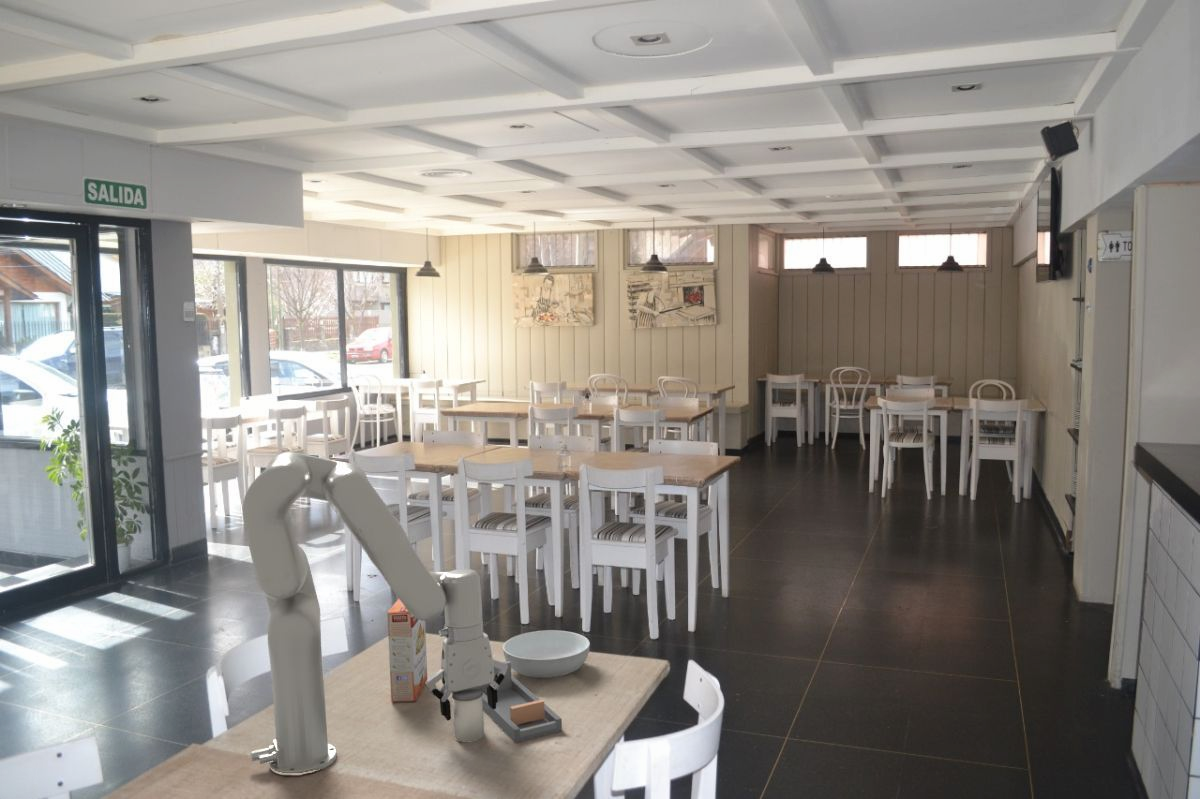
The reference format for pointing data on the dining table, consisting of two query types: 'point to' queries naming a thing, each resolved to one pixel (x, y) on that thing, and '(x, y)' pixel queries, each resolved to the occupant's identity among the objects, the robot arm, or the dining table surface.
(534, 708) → the pusher
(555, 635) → the serving bowl
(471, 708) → the jar
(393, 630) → the cracker box
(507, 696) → the lane
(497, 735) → the dining table surface
